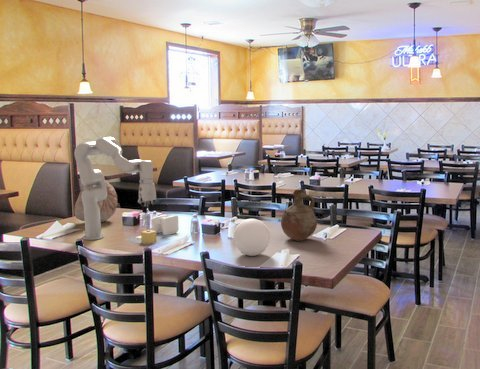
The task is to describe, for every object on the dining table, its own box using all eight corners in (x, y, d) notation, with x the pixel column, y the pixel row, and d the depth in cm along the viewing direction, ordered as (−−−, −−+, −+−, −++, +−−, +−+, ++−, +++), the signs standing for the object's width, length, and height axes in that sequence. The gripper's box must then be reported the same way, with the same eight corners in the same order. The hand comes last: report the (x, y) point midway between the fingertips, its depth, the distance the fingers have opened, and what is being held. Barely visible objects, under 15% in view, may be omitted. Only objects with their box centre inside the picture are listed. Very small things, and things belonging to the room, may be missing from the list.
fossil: (115, 217, 383) (113, 177, 379) (122, 224, 360) (120, 181, 356) (72, 221, 371) (69, 180, 367) (76, 228, 347) (73, 185, 343)
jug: (279, 235, 321) (279, 188, 317) (313, 234, 321) (314, 187, 317) (282, 244, 299) (282, 193, 295) (319, 243, 300) (319, 193, 295)
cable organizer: (163, 237, 320) (163, 219, 319) (151, 235, 326) (150, 217, 324) (178, 232, 333) (178, 214, 331) (166, 230, 338) (165, 213, 337)
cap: (141, 242, 304) (140, 231, 303) (149, 239, 309) (148, 229, 308) (148, 243, 301) (148, 232, 300) (156, 241, 306) (156, 230, 305)
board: (123, 241, 310) (123, 233, 309) (145, 236, 324) (145, 227, 323) (148, 247, 297) (148, 238, 296) (170, 240, 311) (170, 232, 310)
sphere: (253, 248, 292) (252, 213, 289) (278, 255, 277) (278, 219, 274) (226, 255, 279) (225, 219, 276) (250, 262, 264) (250, 224, 261)
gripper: (140, 183, 291) (141, 215, 294) (161, 180, 304) (162, 210, 307) (131, 182, 296) (132, 213, 298) (152, 179, 309) (153, 209, 311)
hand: (147, 211), depth 302 cm, fingers open, 4 cm apart
